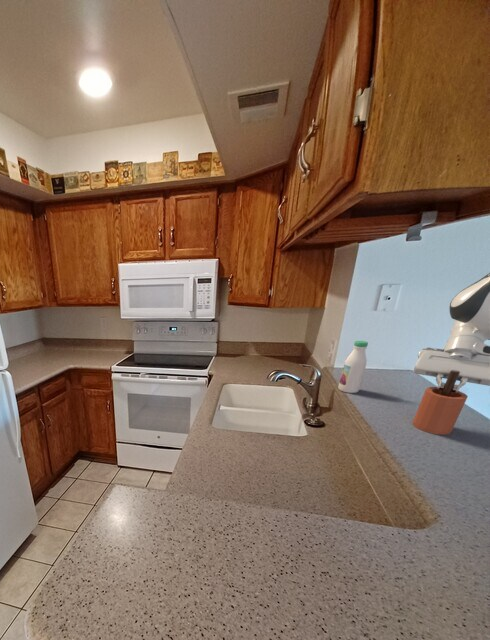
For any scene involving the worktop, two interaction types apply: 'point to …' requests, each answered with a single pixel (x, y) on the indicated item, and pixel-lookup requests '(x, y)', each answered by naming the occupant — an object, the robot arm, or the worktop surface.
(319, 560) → the worktop surface
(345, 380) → the milk bottle
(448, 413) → the jar
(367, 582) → the worktop surface
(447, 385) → the brush
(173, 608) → the worktop surface
